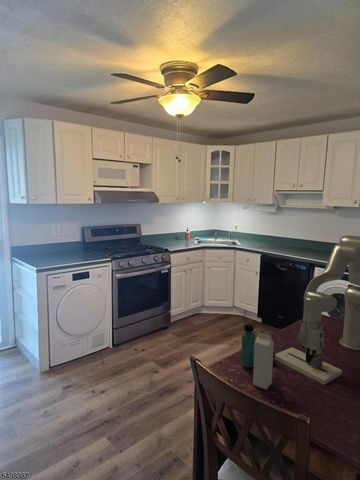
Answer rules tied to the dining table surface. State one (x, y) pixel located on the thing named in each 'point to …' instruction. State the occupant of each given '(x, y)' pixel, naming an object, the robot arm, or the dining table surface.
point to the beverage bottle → (248, 346)
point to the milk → (263, 361)
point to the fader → (316, 362)
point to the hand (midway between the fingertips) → (309, 361)
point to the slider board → (307, 366)
